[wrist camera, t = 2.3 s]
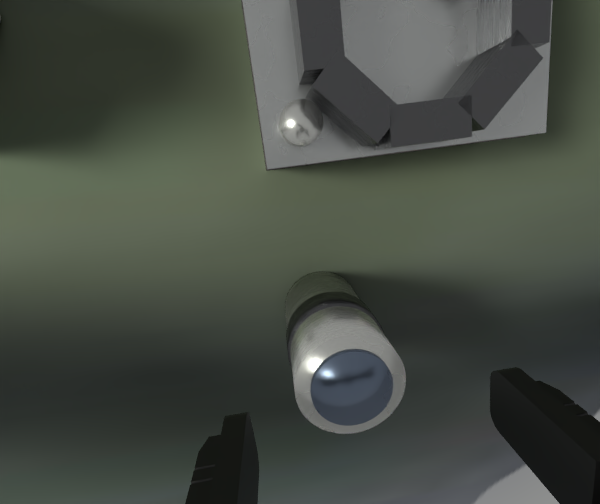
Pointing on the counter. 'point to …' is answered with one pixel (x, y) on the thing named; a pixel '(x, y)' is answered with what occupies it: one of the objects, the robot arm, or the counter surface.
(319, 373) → the lens
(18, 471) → the counter surface
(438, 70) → the octagon ring plate
